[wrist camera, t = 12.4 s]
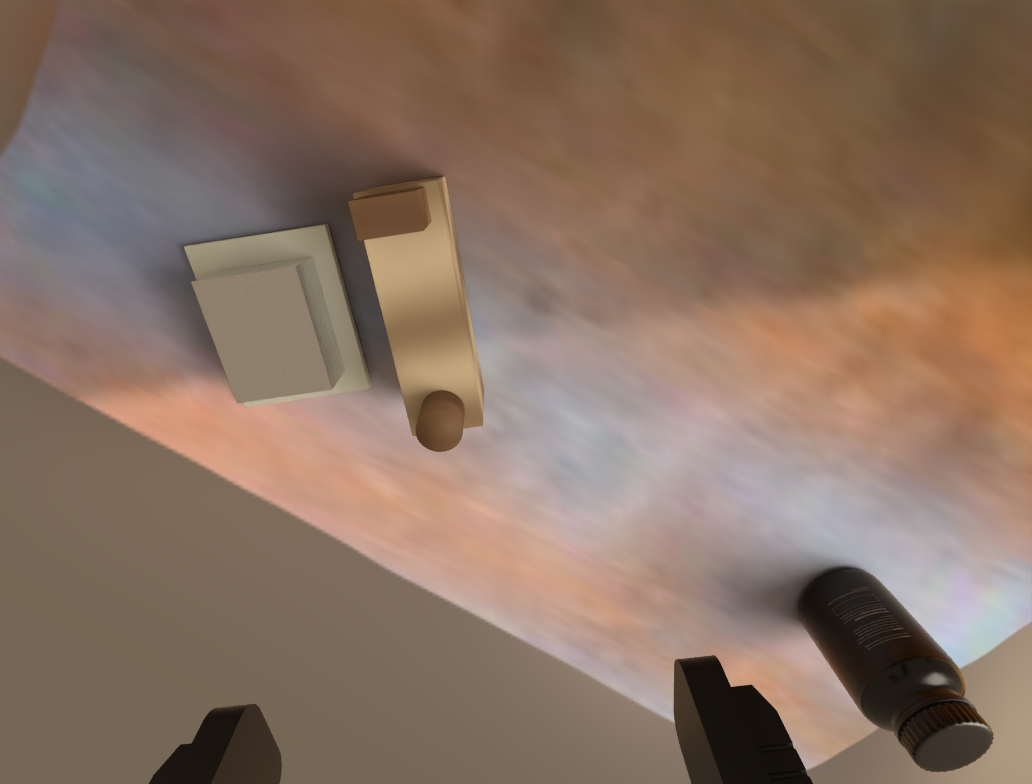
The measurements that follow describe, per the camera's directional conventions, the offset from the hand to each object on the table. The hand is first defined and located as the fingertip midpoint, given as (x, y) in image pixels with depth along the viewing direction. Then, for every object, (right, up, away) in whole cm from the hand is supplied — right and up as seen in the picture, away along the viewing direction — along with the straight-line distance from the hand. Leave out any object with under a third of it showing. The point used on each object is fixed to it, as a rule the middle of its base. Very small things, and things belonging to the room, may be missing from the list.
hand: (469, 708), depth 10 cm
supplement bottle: (+27, -10, +33) cm, 44 cm away
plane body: (-4, +12, +22) cm, 25 cm away
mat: (-13, +11, +22) cm, 28 cm away
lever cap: (-13, +10, +22) cm, 27 cm away
